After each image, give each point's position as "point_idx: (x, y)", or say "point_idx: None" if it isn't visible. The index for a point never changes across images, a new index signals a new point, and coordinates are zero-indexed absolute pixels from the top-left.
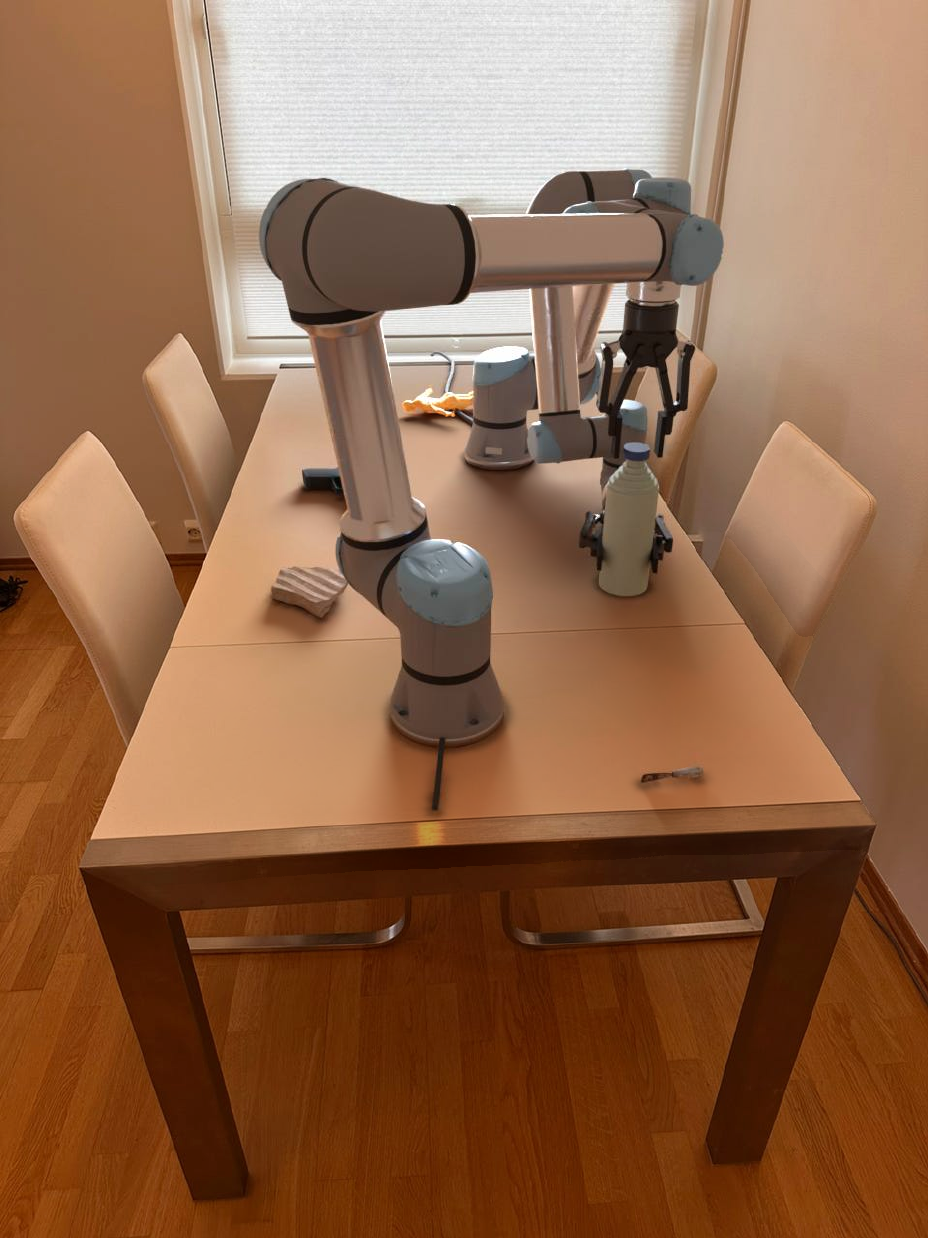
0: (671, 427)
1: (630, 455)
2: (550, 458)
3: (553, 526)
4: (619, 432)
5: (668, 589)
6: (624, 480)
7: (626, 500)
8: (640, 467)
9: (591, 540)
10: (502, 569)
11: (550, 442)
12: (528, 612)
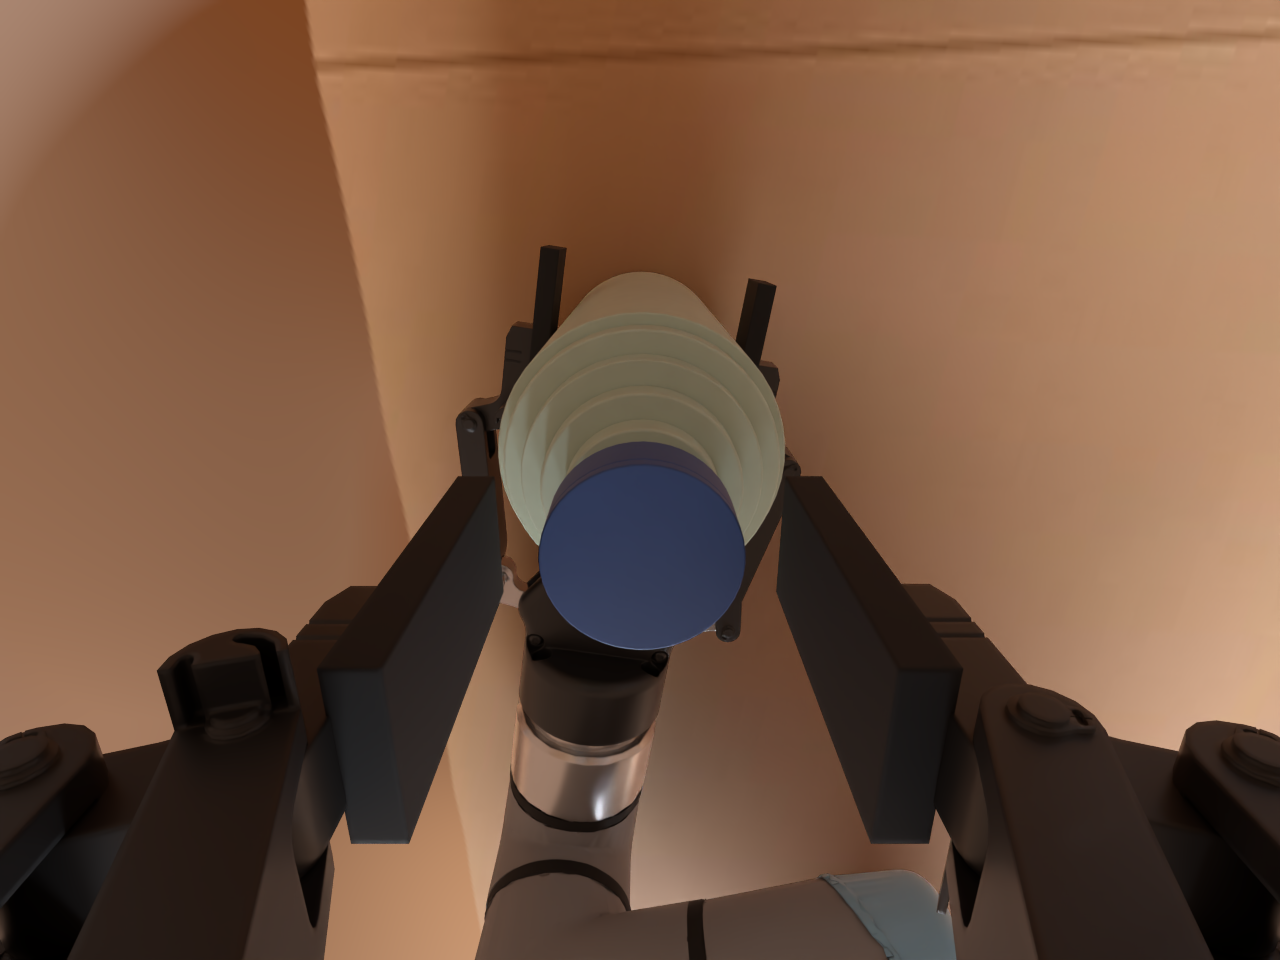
0: (314, 626)
1: (706, 473)
2: (879, 877)
3: (777, 700)
4: (862, 570)
5: (502, 311)
6: (720, 400)
7: (702, 322)
8: None
9: None
10: (992, 461)
11: (911, 944)
12: (984, 183)
